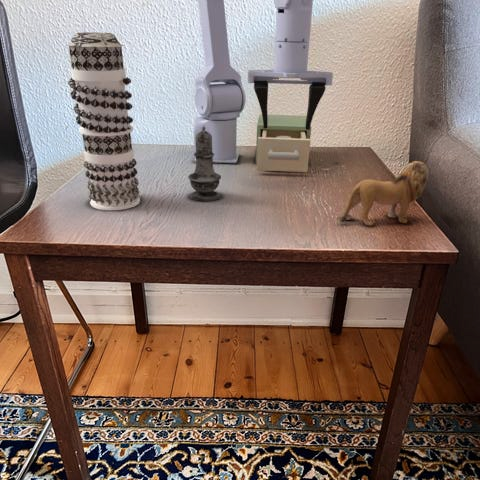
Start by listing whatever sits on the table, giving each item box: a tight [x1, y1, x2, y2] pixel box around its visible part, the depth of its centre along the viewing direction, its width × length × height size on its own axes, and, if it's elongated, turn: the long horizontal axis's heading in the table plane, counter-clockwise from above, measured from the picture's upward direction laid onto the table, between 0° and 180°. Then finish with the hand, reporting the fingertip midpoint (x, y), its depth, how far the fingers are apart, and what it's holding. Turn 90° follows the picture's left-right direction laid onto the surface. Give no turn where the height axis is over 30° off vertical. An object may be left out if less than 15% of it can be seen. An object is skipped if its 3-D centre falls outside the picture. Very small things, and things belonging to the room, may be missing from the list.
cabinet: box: [255, 113, 312, 165], centre depth 108 cm, size 14×12×8 cm
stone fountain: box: [187, 126, 222, 202], centre depth 81 cm, size 6×6×12 cm
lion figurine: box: [339, 160, 429, 227], centre depth 73 cm, size 15×5×9 cm, turn 110°
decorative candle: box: [66, 31, 141, 211], centre depth 74 cm, size 9×9×25 cm
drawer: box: [256, 129, 312, 173], centre depth 98 cm, size 17×10×6 cm, turn 176°
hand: (286, 128), depth 85 cm, fingers open, 7 cm apart
